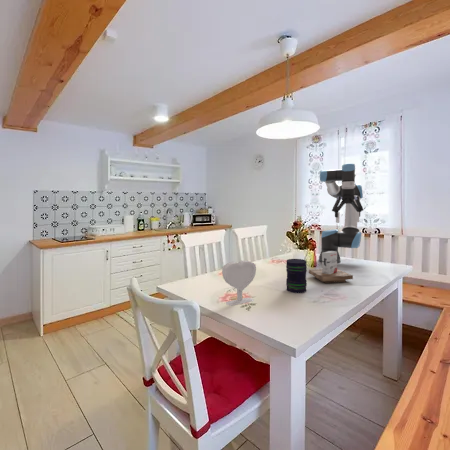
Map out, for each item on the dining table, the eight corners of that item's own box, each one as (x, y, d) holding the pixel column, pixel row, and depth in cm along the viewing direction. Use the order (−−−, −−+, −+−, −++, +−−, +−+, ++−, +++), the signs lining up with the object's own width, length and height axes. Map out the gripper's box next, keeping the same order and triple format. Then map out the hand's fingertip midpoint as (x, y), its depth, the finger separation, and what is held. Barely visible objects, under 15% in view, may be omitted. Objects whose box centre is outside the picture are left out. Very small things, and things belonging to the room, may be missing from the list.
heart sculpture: (227, 306, 115) (226, 265, 114) (221, 302, 120) (221, 262, 118) (257, 300, 122) (257, 260, 121) (251, 296, 127) (250, 259, 125)
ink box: (329, 270, 157) (329, 250, 156) (337, 272, 153) (337, 251, 153) (321, 273, 152) (321, 252, 151) (329, 274, 148) (329, 253, 147)
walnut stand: (308, 276, 160) (308, 269, 160) (335, 274, 163) (335, 268, 162) (323, 284, 143) (323, 277, 143) (352, 282, 146) (352, 275, 146)
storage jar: (301, 286, 141) (301, 258, 140) (310, 292, 131) (310, 262, 130) (283, 287, 139) (283, 259, 138) (290, 293, 130) (290, 263, 129)
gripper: (332, 188, 164) (332, 223, 166) (370, 188, 168) (369, 222, 170) (326, 189, 172) (326, 222, 173) (362, 188, 176) (361, 221, 177)
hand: (347, 222), depth 172 cm, fingers open, 13 cm apart
